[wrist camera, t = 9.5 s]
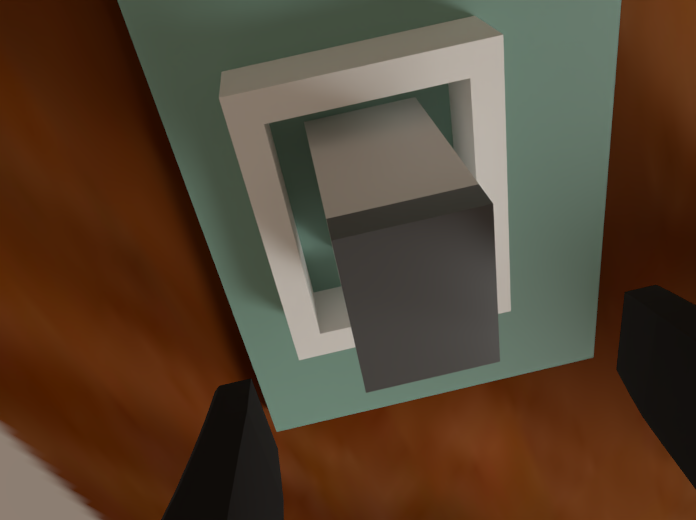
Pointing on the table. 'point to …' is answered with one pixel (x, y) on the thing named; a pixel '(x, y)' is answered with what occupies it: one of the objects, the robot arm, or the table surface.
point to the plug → (407, 243)
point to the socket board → (367, 91)
